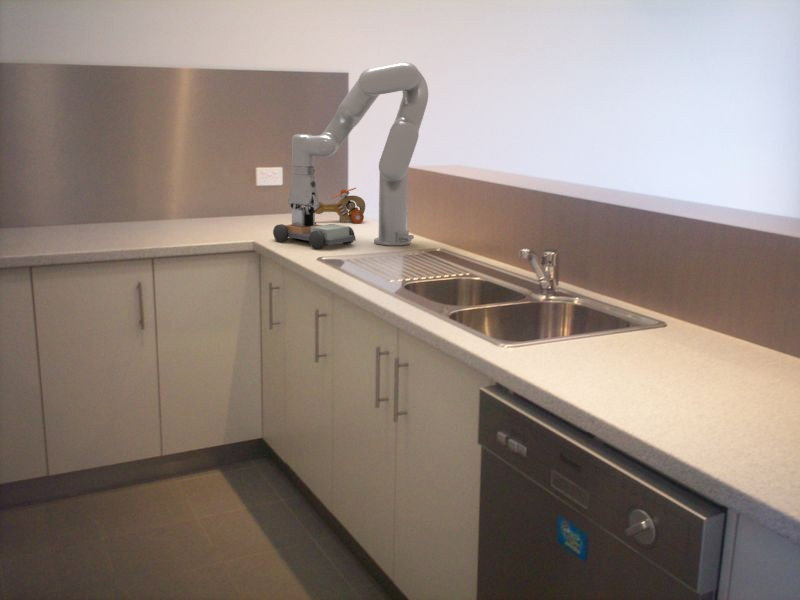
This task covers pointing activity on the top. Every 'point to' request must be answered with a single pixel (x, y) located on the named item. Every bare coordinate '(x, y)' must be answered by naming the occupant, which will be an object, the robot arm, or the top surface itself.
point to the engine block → (300, 217)
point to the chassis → (316, 234)
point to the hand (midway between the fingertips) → (303, 224)
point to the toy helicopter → (341, 207)
